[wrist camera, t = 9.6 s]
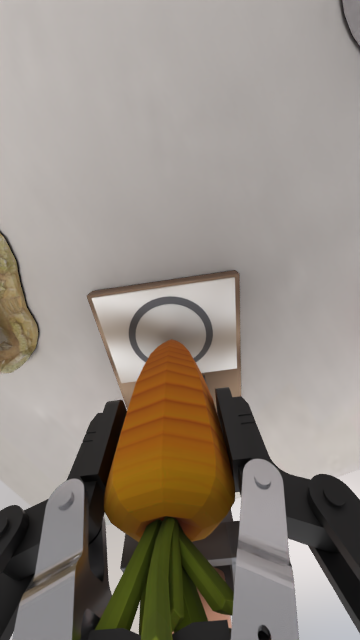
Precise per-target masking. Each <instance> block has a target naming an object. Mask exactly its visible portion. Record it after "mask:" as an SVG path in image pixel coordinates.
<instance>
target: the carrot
mask: <svg viewBox="0 0 360 640" xmlns="http://www.w3.org/2000/svg"><path fill="white" fill-rule="evenodd" d="M234 501H235V483H234V479H233V474H232V470H231V466H230V461H229V457H228V453H227V448H226V444H225V440H224V436H223V432H222V429H221V425H220V422H219V418H218V415H217V411H216V408H215V404H214V401H213V398H212V396H211V394H210V391H209V389H208V387H207V384H206V382H205V380H204V378H203V376H202V374H201V372H200V370H199V368H198V366H197V364H196V362H195V361H194V359H193V357H192V355H191V354H190V352H189V351H188V349H187V348H186V347H185V346H184V345H183V344H181V343H180V342H178V341H176V340H172V339H170V340H168V341H166V342H164V343H163V344H161V345H160V346H158V347H157V348H156V349H155V350H154V351H153V352H152V353H151V354H150V356H149V358H148V359H147V361H146V363H145V365H144V367H143V369H142V371H141V373H140V375H139V377H138V379H137V381H136V384H135V387H134V391H133V394H132V397H131V400H130V404H129V407H128V410H127V413H126V417H125V420H124V423H123V427H122V430H121V433H120V436H119V440H118V443H117V447H116V451H115V454H114V458H113V461H112V465H111V469H110V472H109V476H108V480H107V483H106V488H105V494H104V511H105V513H106V515H107V517H108V518H109V520H110V522H111V523H112V524H113V525H115V526H116V527H117V528H119V529H120V530H121V531H123V532H124V533H126V534H127V535H129V536H130V537H132V538H133V539H135V540H136V541H138V542H139V543H138V545H137V547H136V549H135V551H134V553H133V555H132V557H131V559H130V561H129V563H128V565H127V567H126V569H125V571H124V573H123V575H122V577H121V579H120V581H119V583H118V585H117V587H116V589H115V591H114V593H113V595H112V597H111V599H110V601H109V603H108V605H107V607H106V609H105V611H104V613H103V615H102V617H101V619H100V621H99V623H98V625H97V627H96V629H95V630H103V629H116V628H124V629H127V630H129V631H130V629H131V626H132V623H133V620H134V617H135V614H136V611H137V608H138V605H139V602H140V621H139V635H141V640H173V639H172V632H173V631H174V633H175V632H177V631H179V630H180V629H182V628H184V627H186V626H187V625H189V624H191V623H193V622H204V621H208V618H207V616H206V613H205V610H204V607H203V604H202V602H201V599H200V596H199V593H198V591H197V589H198V590H199V592H200V593H201V594H202V596H203V597H204V599H205V600H206V602H207V603H208V605H209V606H210V608H211V609H212V611H214V612H217V613H220V614H224V615H233V600H234V592H233V590H232V589H231V588H230V587H229V586H228V584H227V583H226V582H225V581H224V580H223V578H222V577H221V576H220V575H219V574H218V572H217V571H216V570H215V569H214V568H213V566H212V565H211V564H210V563H209V562H208V560H207V559H206V558H205V557H204V556H203V555H202V553H201V552H200V551H199V550H198V549H197V548H196V546H195V545H194V544H193V543H192V542H193V541H197V540H201V539H204V538H206V537H207V536H208V535H210V534H211V533H212V532H213V530H214V529H215V528H216V527H217V526H218V525H219V524H220V522H221V521H222V520H223V519H224V518H225V517H226V516H227V514H228V512H229V511H230V509H231V507H232V505H233V503H234ZM196 587H197V588H196Z"/></svg>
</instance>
